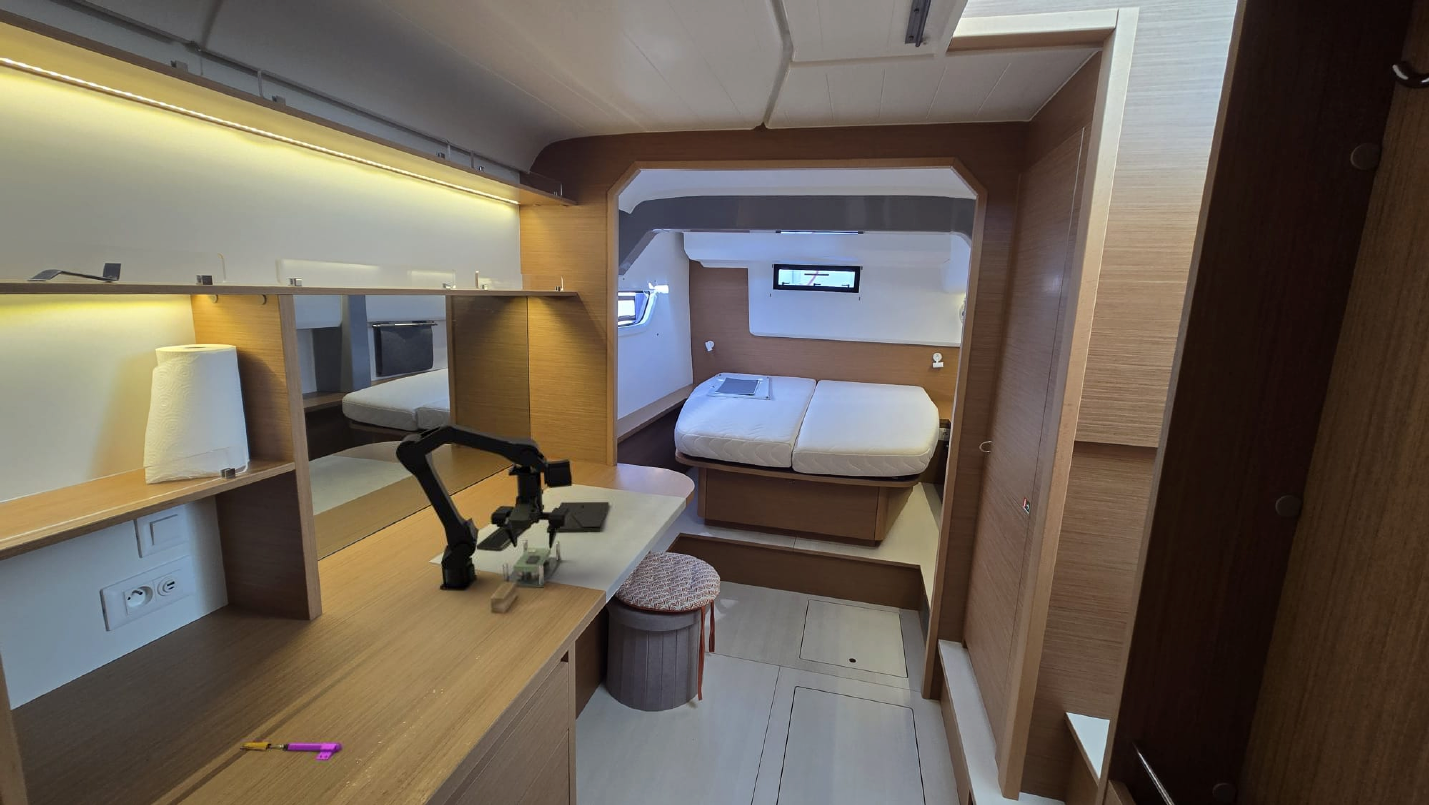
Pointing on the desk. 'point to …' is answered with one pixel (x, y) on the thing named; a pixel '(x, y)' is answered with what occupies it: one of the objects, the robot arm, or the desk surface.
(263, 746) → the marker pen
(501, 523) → the robot arm
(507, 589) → the block
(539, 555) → the board
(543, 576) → the chassis
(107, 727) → the desk surface
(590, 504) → the picture frame
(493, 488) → the desk surface
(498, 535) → the phone
